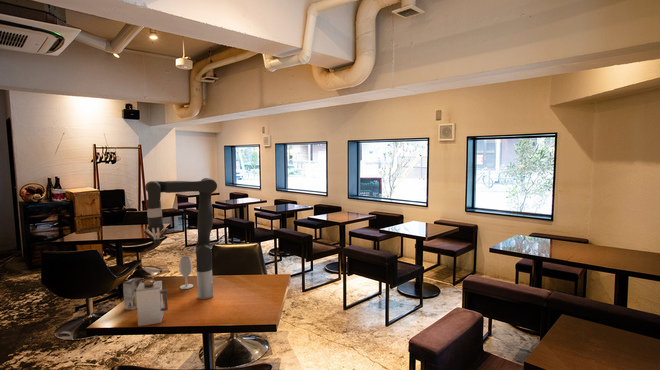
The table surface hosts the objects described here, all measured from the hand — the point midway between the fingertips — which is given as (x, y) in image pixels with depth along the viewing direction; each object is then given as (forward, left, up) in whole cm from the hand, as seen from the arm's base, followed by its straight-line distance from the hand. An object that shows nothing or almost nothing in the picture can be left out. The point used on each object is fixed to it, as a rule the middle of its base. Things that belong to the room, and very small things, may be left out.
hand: (157, 245), depth 205 cm
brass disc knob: (+3, +15, -36) cm, 39 cm away
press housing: (+2, +15, -38) cm, 41 cm away
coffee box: (+15, -9, -38) cm, 42 cm away
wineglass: (-13, -31, -38) cm, 50 cm away
